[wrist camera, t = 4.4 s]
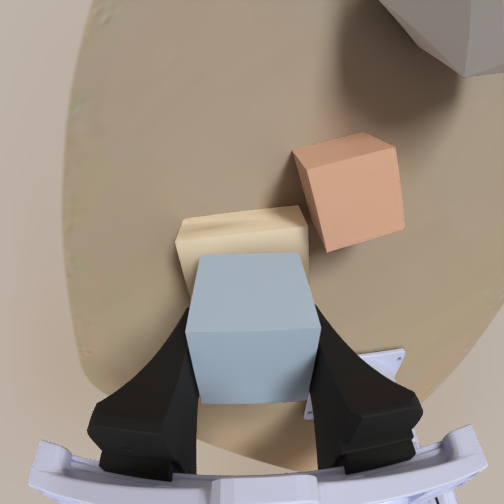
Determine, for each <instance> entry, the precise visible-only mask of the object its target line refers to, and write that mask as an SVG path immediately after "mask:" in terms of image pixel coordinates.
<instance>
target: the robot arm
mask: <svg viewBox="0 0 504 504" xmlns="http://www.w3.org/2000/svg"><path fill="white" fill-rule="evenodd" d="M315 308H316V311H317V315H318V318H319V322H320V325H321V332H320V337H319V343H318V348H317V353H316V358H315V363H314V368H313V373H312V378H311V383H310V387H309V394H308V398H307V402H306V407H305V411H304V419H306V420H309V419H314V426H315V436H316V448H317V462H318V470H315V471H306V472H297V473H286V474H272V475H249V476H220V475H219V476H217V475H197V474H196V432H197V407H198V398H199V390H198V385H197V381H196V377H195V373H194V369H193V365H192V360H191V356H190V351H189V347H188V342H187V338H186V333H185V330H186V325H187V320H188V314H189V309H190V308H187V309H186V310H185V312H184V314H183V316H182V318H181V319H180V321H179V323H178V324H177V326H176V327H175V329H174V330H173V332H172V333H171V335H170V336H169V338H168V339H167V341H166V342H165V343H164V345H163V346H162V347H161V349H160V350H159V351H158V352H157V354H156V355H155V356H154V357H153V358H152V360H151V361H150V362H149V363H148V364H147V365H146V366H145V367H144V368H143V369H142V370H141V371H140V372H139V373H138V374H137V375H136V376H135V377H134V378H132V379H131V380H130V381H129V382H128V383H126V384H125V385H124V386H123V387H121V388H120V389H119V390H117V391H116V392H115V393H113V394H112V395H110V396H108V397H107V398H105V399H104V400H102V401H101V402H98V403H97V404H96V407H95V409H94V411H93V413H92V416H91V419H90V422H89V426H88V429H87V433H88V435H89V436H90V438H91V439H92V440H93V441H94V442H95V443H96V445H97V446H98V447H99V448H100V449H101V450H102V453H101V457H100V461H95V460H91V459H87V458H82V457H79V456H75V455H72V454H71V453H70V451H69V450H68V449H66V448H65V447H63V446H60V445H57V444H54V443H51V442H47V441H44V440H41V441H40V444H39V447H38V450H37V453H36V457H35V459H34V463H33V466H32V469H31V472H30V476H29V479H28V485H29V486H31V487H32V488H34V489H35V490H37V491H38V492H40V493H41V494H43V495H45V496H46V497H48V498H50V499H51V500H53V501H55V502H57V503H59V504H458V502H457V498H456V495H455V491H454V489H456V488H458V487H460V486H461V485H463V484H465V483H466V482H467V481H469V480H470V479H472V478H473V477H475V476H476V475H477V474H479V473H480V472H481V471H483V470H484V469H485V468H486V467H487V466H488V464H487V461H486V458H485V456H484V453H483V451H482V448H481V446H480V444H479V441H478V439H477V437H476V434H475V432H474V430H473V427H472V425H470V424H469V425H467V426H464V427H461V428H459V429H456V430H454V431H451V432H450V433H448V434H447V435H446V436H445V437H444V438H443V439H442V441H440V442H437V443H434V444H431V445H428V446H425V447H421V446H420V444H419V441H418V438H417V435H416V432H415V430H414V426H415V425H416V424H417V423H418V421H419V420H420V418H421V417H422V415H423V409H422V407H421V404H420V402H419V400H418V398H417V396H416V395H415V393H414V392H413V391H411V390H409V389H407V388H405V387H403V386H401V385H399V384H397V383H396V380H395V378H394V377H395V375H396V373H397V370H398V368H399V366H400V364H401V362H402V360H403V358H404V356H405V351H404V349H394V350H387V351H380V352H373V353H365V354H356V353H355V352H354V351H353V350H352V349H351V348H350V347H349V346H348V345H347V344H346V343H345V342H344V341H343V339H342V338H341V337H340V336H339V335H338V334H337V332H336V331H335V330H334V329H333V328H332V326H331V325H330V324H329V322H328V321H327V320H326V318H325V317H324V316H323V314H322V313H321V312H320V310H319V309H318V307H317V306H316V305H315Z"/></svg>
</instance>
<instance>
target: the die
mask: <svg viewBox="0 0 504 504" xmlns="http://www.w3.org/2000/svg"><path fill="white" fill-rule="evenodd" d="M379 1H380V2H381V3H382V4H383V5H384V6H385V8H386V9H387V10H388V11H389V12H390V13H391V14H392V15H393V16H394V18H395V19H396V20H397V21H398V22H399V23H400V25H401V26H402V27H403V28H404V29H405V31H406V32H407V33H408V34H409V36H410V37H411V38H412V39H413V41H414V42H415V43H416V45H417V46H418V47H419V48H421V49H423V50H424V51H426V52H427V53H429V54H430V55H432V56H434V57H435V58H437V59H438V60H440V61H441V62H443V63H444V64H445V65H447V66H448V67H450V68H451V69H453V70H454V71H455V72H457V73H458V74H459V75H461V76H462V77H463V78H466V77H473V76H480V75H488V74H496V73H503V72H504V0H379Z"/></svg>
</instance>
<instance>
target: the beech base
mask: <svg viewBox="0 0 504 504" xmlns="http://www.w3.org/2000/svg"><path fill="white" fill-rule="evenodd" d="M175 244H176V248H177V252H178V256H179V260H180V263H181V267H182V271H183V274H184V278H185V281H186V285H187V288H188V292H189V295H190V299H192V294H193V289H194V284H195V279H196V274H197V270H198V265H199V260H200V256H201V255H216V254H255V253H292V252H299V255H300V258H301V261H302V265H303V268H304V271H305V274H306V278H307V281H308V284H309V243H308V225H307V223H306V221H305V218H304V216H303V214H302V212H301V210H300V207H299V205H295V206H285V207H276V208H267V209H258V210H250V211H241V212H233V213H225V214H217V215H210V216H202V217H195V218H187V219H183V222H182V225H181V227H180V230H179V233H178V235H177V238H176V241H175Z"/></svg>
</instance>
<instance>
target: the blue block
mask: <svg viewBox="0 0 504 504" xmlns="http://www.w3.org/2000/svg"><path fill="white" fill-rule="evenodd" d="M320 332H321V325H320V322H319V318H318V315H317V311H316V308H315V304H314V301H313V298H312V294H311V291H310V287H309V284H308V281H307V278H306V274H305V271H304V268H303V265H302V261H301V258H300V255H299V252H292V253H255V254H216V255H201V256H200V260H199V265H198V270H197V274H196V279H195V284H194V289H193V294H192V299H191V304H190V309H189V314H188V320H187V325H186V330H185V333H186V338H187V342H188V347H189V351H190V356H191V360H192V365H193V369H194V373H195V377H196V381H197V385H198V390H199V394H200V397H201V401H202V404H259V403H279V402H294V401H306V400H307V396H308V392H309V387H310V383H311V378H312V373H313V368H314V363H315V358H316V353H317V348H318V343H319V337H320Z"/></svg>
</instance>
